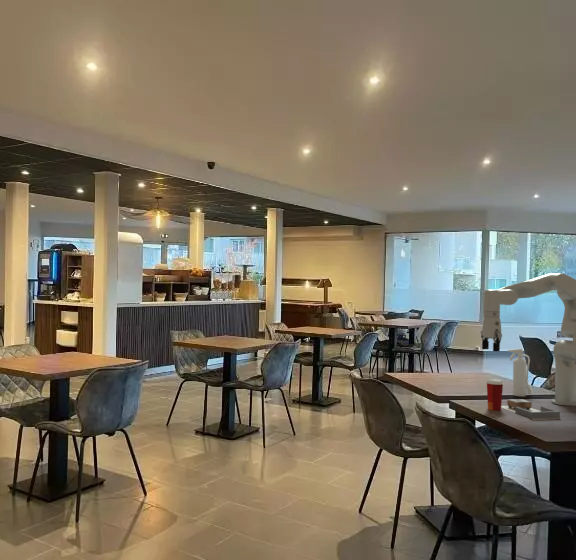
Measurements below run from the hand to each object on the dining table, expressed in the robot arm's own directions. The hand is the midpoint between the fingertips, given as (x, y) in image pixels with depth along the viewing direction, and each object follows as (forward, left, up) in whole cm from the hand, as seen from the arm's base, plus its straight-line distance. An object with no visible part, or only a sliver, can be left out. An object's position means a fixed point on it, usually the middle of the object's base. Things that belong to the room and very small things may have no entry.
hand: (490, 350), depth 284 cm
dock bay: (-9, +17, -27) cm, 33 cm away
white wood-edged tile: (-9, +11, -26) cm, 30 cm away
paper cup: (+4, +11, -27) cm, 29 cm away
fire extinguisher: (-33, -24, -27) cm, 49 cm away
